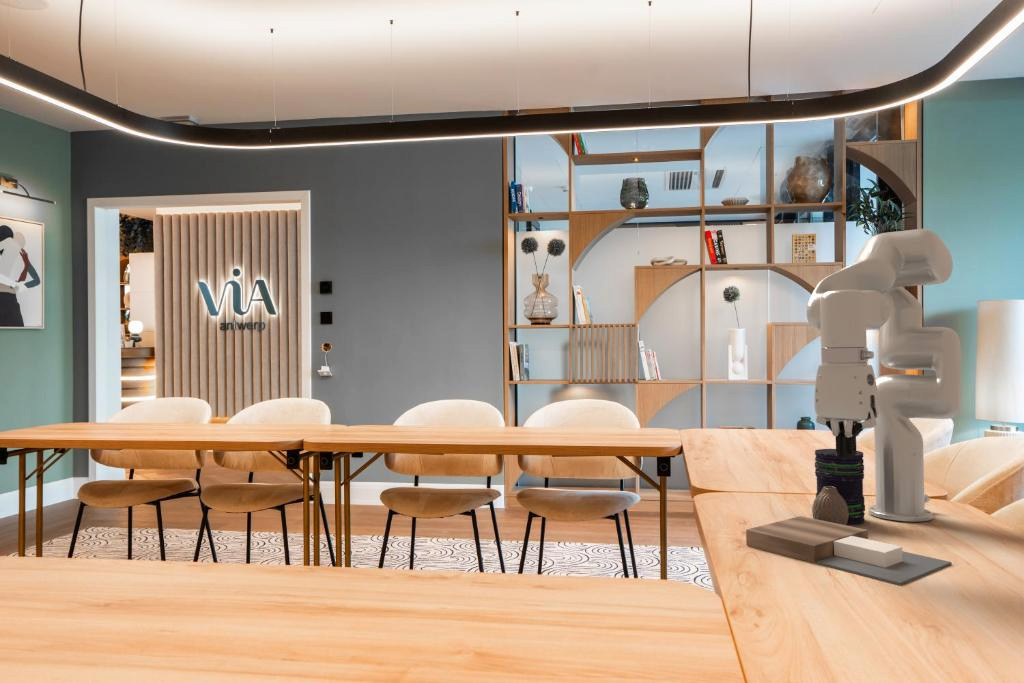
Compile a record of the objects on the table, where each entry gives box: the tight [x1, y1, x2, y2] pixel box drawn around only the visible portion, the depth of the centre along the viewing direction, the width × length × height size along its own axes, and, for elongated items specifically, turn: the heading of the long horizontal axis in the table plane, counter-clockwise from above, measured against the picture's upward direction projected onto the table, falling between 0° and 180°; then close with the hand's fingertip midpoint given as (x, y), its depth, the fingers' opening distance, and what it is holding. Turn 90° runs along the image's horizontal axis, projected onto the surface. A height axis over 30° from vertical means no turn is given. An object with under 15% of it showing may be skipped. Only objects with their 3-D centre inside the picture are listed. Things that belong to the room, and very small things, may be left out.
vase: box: [811, 486, 849, 526], centre depth 143 cm, size 7×7×9 cm
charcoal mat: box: [816, 550, 952, 586], centre depth 119 cm, size 18×14×1 cm
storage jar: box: [814, 448, 866, 527], centre depth 151 cm, size 10×10×15 cm
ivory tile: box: [834, 536, 903, 567], centre depth 122 cm, size 6×9×2 cm, turn 35°
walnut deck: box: [745, 515, 869, 564], centre depth 131 cm, size 18×14×3 cm
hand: (846, 457), depth 125 cm, fingers closed
